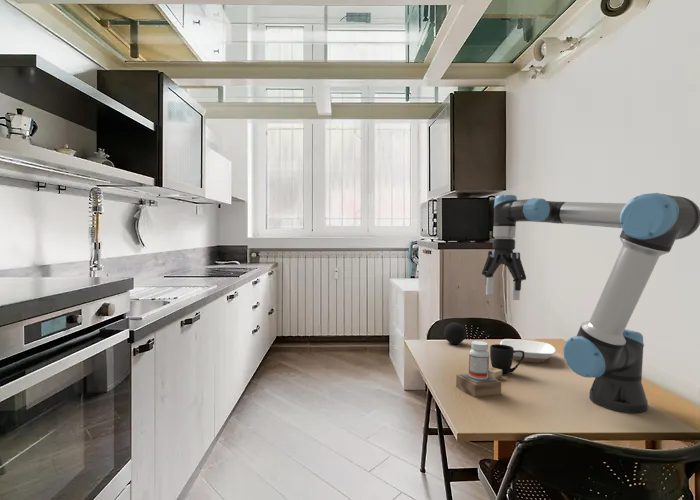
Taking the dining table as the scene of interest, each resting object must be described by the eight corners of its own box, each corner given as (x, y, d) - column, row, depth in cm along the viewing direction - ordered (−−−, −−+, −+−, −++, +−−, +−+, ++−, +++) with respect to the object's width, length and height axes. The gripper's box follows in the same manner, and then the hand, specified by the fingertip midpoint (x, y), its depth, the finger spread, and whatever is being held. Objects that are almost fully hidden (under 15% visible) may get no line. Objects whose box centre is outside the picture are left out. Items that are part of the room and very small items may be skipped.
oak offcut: (502, 378, 151) (502, 369, 151) (494, 381, 148) (494, 372, 148) (489, 374, 155) (489, 366, 155) (481, 377, 152) (482, 368, 151)
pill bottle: (474, 372, 142) (476, 339, 142) (491, 377, 138) (493, 343, 138) (464, 376, 138) (466, 342, 138) (482, 381, 134) (483, 346, 133)
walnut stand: (500, 394, 135) (501, 380, 135) (475, 397, 132) (475, 383, 132) (480, 383, 145) (481, 371, 145) (456, 386, 141) (456, 373, 141)
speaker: (439, 343, 200) (440, 322, 200) (451, 340, 207) (452, 319, 207) (457, 347, 193) (458, 325, 193) (469, 344, 200) (470, 323, 199)
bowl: (558, 368, 165) (559, 355, 165) (499, 362, 172) (500, 349, 172) (551, 354, 185) (552, 342, 185) (499, 349, 192) (499, 337, 192)
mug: (523, 378, 151) (524, 352, 151) (488, 373, 156) (489, 348, 156) (523, 372, 159) (524, 347, 158) (490, 367, 163) (491, 343, 163)
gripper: (538, 239, 142) (536, 302, 143) (489, 238, 165) (487, 292, 166) (521, 238, 139) (518, 302, 140) (473, 237, 163) (471, 292, 163)
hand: (501, 297), depth 153 cm, fingers open, 13 cm apart
